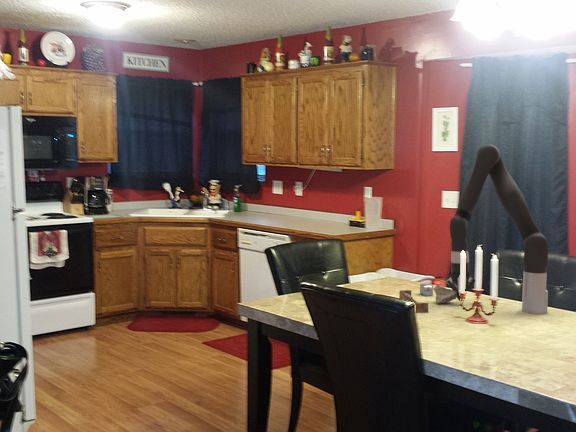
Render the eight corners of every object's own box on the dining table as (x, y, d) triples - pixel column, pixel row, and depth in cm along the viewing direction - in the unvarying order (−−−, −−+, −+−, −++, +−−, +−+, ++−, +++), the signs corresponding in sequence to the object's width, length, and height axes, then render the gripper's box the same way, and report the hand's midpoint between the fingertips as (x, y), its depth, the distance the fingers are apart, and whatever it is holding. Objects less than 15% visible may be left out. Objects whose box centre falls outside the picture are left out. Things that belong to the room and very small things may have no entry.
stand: (410, 298, 305) (410, 288, 304) (428, 312, 278) (428, 301, 277) (399, 299, 304) (399, 289, 304) (415, 313, 277) (416, 302, 277)
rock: (435, 301, 291) (431, 285, 299) (437, 310, 295) (432, 294, 303) (462, 296, 290) (456, 280, 298) (462, 306, 294) (457, 290, 302)
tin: (427, 293, 317) (427, 283, 316) (435, 296, 311) (435, 285, 311) (417, 294, 314) (417, 284, 314) (424, 297, 309) (425, 286, 308)
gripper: (471, 259, 295) (472, 298, 296) (442, 260, 294) (443, 299, 295) (477, 261, 287) (478, 301, 289) (447, 263, 286) (448, 303, 288)
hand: (460, 300), depth 292 cm, fingers closed
